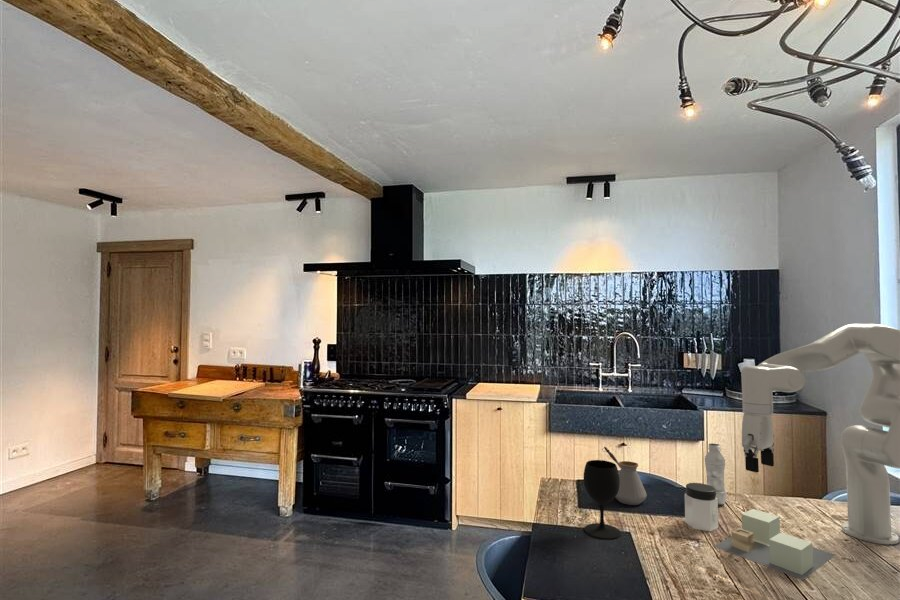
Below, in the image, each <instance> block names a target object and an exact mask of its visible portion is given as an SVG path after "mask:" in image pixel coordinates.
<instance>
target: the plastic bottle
mask: <svg viewBox="0 0 900 600" xmlns="http://www.w3.org/2000/svg"><path fill="white" fill-rule="evenodd" d="M721 451H722V448H721V444H718V443H708V452H707V453H706V454H705V456H704V465H705V471H706V473H705V474H706V485H710V486H712V487H714V488H715V490H716V498H717V499H718V506H720V505H725V503H727V498H728V497H727V493H726V488H725V486H726V485H725V469H726V459H725V457H724V455H723V454H722V453H721Z"/></svg>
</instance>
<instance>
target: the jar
mask: <svg viewBox="0 0 900 600" xmlns="http://www.w3.org/2000/svg"><path fill="white" fill-rule="evenodd" d="M718 506H719V505H718V499H717V498H716V490H715V488H714V487H712V486H710V485H707V483H702V482H689V483H686V484H685V493H684V523H685V524H686V525H688V526H689V527H691V528H692V529H694V530H700V531H706V532H712V531H716V530H717V529H719V511H718V509H719V507H718Z"/></svg>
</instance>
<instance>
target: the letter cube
mask: <svg viewBox="0 0 900 600" xmlns="http://www.w3.org/2000/svg"><path fill="white" fill-rule="evenodd" d="M730 534H731V536H732V547H735V548H738V549H740V550H743V551H746V552H749V551H750V550H752V549H754V533H752V532H749V531H746V530H743V529H742V528H739V527H737V528H736V529H733V530H731V533H730Z"/></svg>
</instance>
